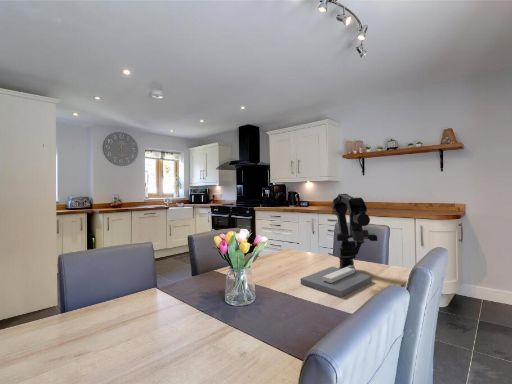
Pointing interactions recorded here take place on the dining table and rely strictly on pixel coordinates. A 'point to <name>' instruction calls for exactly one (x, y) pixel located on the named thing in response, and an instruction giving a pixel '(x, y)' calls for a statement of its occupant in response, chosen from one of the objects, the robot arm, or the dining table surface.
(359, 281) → the board
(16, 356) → the dining table surface
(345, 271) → the bar
